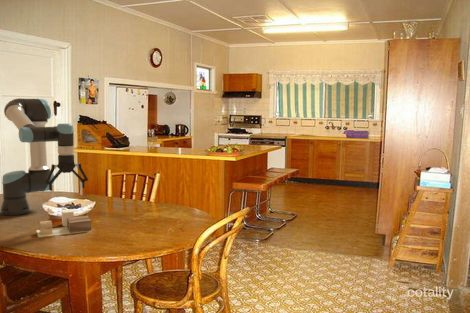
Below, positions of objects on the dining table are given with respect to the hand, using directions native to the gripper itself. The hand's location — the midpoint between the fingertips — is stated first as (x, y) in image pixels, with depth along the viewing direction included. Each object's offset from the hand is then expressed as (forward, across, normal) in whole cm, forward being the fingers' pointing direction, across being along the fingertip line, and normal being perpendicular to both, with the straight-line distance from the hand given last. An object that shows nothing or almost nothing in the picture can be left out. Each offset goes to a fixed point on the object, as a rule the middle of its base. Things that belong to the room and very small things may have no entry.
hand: (67, 195), depth 218 cm
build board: (+16, -3, -10) cm, 19 cm away
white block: (+16, 0, 0) cm, 16 cm away
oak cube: (+15, -11, -10) cm, 21 cm away
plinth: (+15, +4, -10) cm, 18 cm away
